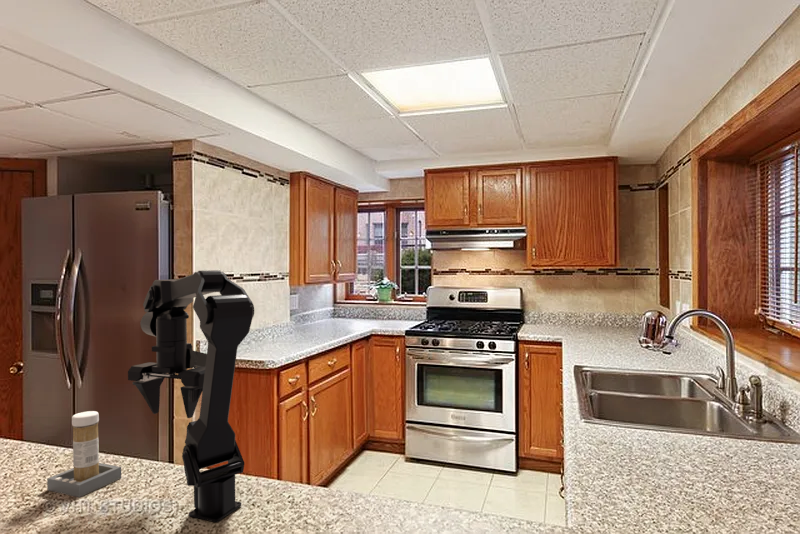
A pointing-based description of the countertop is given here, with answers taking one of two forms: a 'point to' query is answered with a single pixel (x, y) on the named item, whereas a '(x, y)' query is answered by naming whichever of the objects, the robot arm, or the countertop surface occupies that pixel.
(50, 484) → the dish
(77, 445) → the sprinkles bottle
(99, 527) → the countertop surface
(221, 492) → the robot arm
